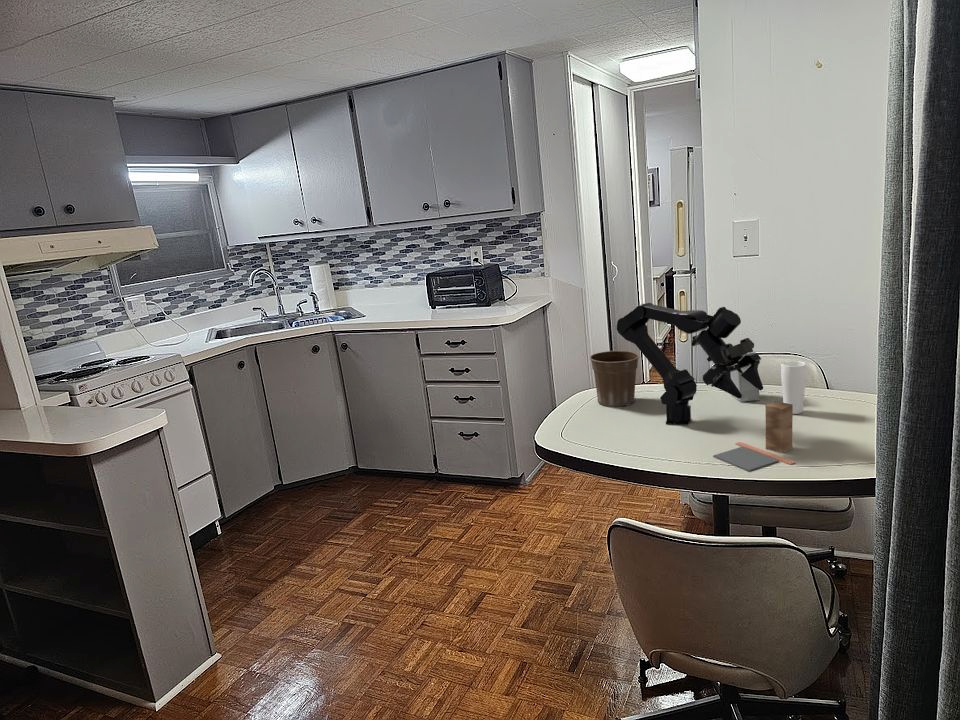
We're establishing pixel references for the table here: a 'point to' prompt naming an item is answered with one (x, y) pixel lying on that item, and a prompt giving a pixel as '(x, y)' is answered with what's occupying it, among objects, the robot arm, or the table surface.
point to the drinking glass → (793, 384)
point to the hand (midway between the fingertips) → (751, 393)
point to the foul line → (765, 453)
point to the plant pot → (615, 377)
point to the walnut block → (779, 426)
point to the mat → (745, 458)
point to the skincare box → (744, 386)
